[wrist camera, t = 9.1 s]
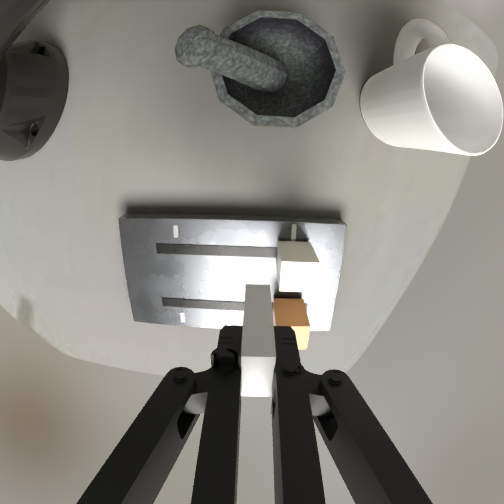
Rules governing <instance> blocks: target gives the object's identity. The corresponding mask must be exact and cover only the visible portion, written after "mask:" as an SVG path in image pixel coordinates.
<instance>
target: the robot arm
mask: <svg viewBox="0 0 504 504" xmlns="http://www.w3.org/2000/svg"><path fill="white" fill-rule="evenodd" d="M49 1H50V0H0V160H4V161H13V160H18V159H24V158H27V157H29V156H31V155H33V154H34V153H36V152H37V151H38V150H39V149H41V148H42V147H43V145H44V144H45V143H46V142H47V141H48V139H49V138H50V136H51V135H52V133H53V132H54V130H55V128H56V126H57V124H58V122H59V120H60V117H61V114H62V112H63V108H64V105H65V101H66V96H67V90H68V69H67V64H66V61H65V58H64V56H63V54H62V53H61V51H60V50H59V49H58V48H57V47H55V46H53V45H51V44H48V43H45V42H42V41H26V42H21V43H16V44H12V43H13V42H14V40H15V39H16V38H17V37H18V35H19V34H20V33H21V32H22V31H23V29H24V28H25V27H26V26H27V25H28V24H29V22H30V21H31V20H32V19H33V18H34V17H35V16H36V15H37V14H38V13H39V11H40V10H41V9H42V8H43V7H44V6H45V5H46V4H47V3H48V2H49ZM211 365H212V367H211V368H210V369H208V370H206V371H203V372H198V373H194V372H193V371H192V370H191V369H188V368H186V367H177V368H174V369H171V370H170V371H169V372H168V373H167V374H166V376H165V377H164V378H163V380H162V381H161V383H160V384H159V386H158V387H157V388H156V390H155V391H154V393H153V394H152V396H151V397H150V399H149V400H148V401H147V403H146V404H145V406H144V407H143V409H142V410H141V412H140V413H139V414H138V416H137V417H136V419H135V420H134V422H133V423H132V424H131V426H130V427H129V429H128V430H127V432H126V433H125V435H124V436H123V437H122V439H121V440H120V442H119V443H118V445H117V446H116V447H115V449H114V450H113V452H112V453H111V455H110V456H109V458H108V459H107V460H106V462H105V463H104V465H103V466H102V468H101V469H100V471H99V472H98V473H97V475H96V476H95V478H94V479H93V481H92V482H91V483H90V485H89V486H88V488H87V489H86V491H85V492H84V494H83V495H82V496H81V498H80V499H79V501H78V502H77V504H153V503H154V501H155V499H156V497H157V495H158V494H159V492H160V490H161V488H162V486H163V484H164V482H165V481H166V479H167V477H168V475H169V473H170V471H171V469H172V468H173V465H174V464H175V462H176V460H177V458H178V456H179V454H180V452H181V450H182V449H183V447H184V445H185V443H186V441H187V439H188V437H189V435H190V433H191V431H192V429H193V427H194V425H195V423H196V421H197V420H198V418H199V416H200V413H204V419H203V425H202V432H201V439H200V445H199V452H198V458H197V465H196V472H195V479H194V486H193V493H192V500H191V504H236V501H237V499H236V498H237V477H238V456H239V434H240V414H241V396H258V397H272V405H271V414H272V428H273V429H272V431H273V458H274V486H275V487H274V489H275V504H325V497H324V489H323V482H322V476H321V468H320V461H319V454H318V448H317V441H316V435H315V428H314V422H315V424H316V426H317V428H318V430H319V432H320V434H321V436H322V438H323V440H324V442H325V444H326V446H327V448H328V450H329V452H330V454H331V456H332V458H333V460H334V462H335V464H336V466H337V468H338V470H339V472H340V474H341V476H342V478H343V480H344V482H345V484H346V486H347V488H348V490H349V491H350V494H351V496H352V498H353V500H354V502H355V503H356V504H432V502H431V500H430V499H429V498H428V496H427V494H426V493H425V491H424V490H423V488H422V487H421V485H420V484H419V482H418V480H417V479H416V478H415V476H414V474H413V473H412V471H411V470H410V468H409V467H408V465H407V464H406V462H405V461H404V459H403V458H402V456H401V455H400V453H399V452H398V450H397V449H396V447H395V446H394V444H393V442H392V441H391V439H390V438H389V436H388V435H387V433H386V432H385V430H384V429H383V427H382V426H381V425H380V423H379V421H378V420H377V418H376V417H375V416H374V414H373V412H372V411H371V409H370V408H369V406H368V405H367V404H366V402H365V400H364V399H363V397H362V396H361V394H360V393H359V392H358V390H357V389H356V387H355V386H354V384H353V383H352V381H351V380H350V378H349V377H348V376H347V374H346V373H344V372H342V371H340V370H328V371H326V372H324V373H323V374H322V375H318V374H313V373H310V372H308V371H306V370H305V369H304V367H303V366H302V365H301V363H300V357H299V351H298V345H297V340H296V334H295V331H294V330H293V329H292V328H291V326H274V325H273V313H272V301H271V290H270V285H265V284H246V285H245V300H244V316H243V326H237V325H224V327H223V328H222V329H221V330H220V334H219V340H218V346H217V348H216V349H215V350H214V351H212V353H211ZM313 420H314V422H313Z"/></svg>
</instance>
